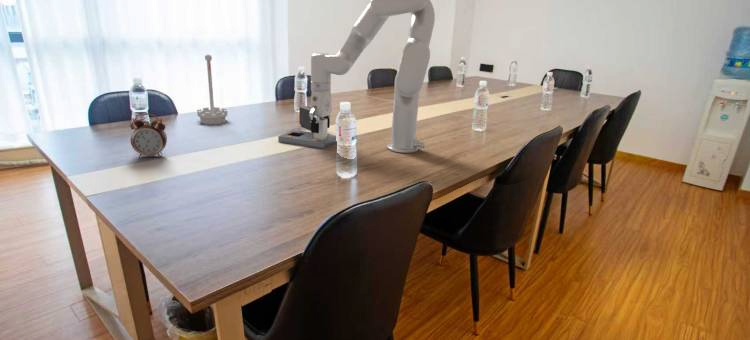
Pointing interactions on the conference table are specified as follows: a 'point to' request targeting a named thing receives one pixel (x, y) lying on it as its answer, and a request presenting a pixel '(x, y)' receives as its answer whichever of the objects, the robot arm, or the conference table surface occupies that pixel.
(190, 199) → the conference table surface
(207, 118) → the flag stand
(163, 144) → the alarm clock
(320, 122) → the plug
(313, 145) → the panel
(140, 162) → the conference table surface
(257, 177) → the conference table surface
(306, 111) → the leaning round-cornered charcoal block
